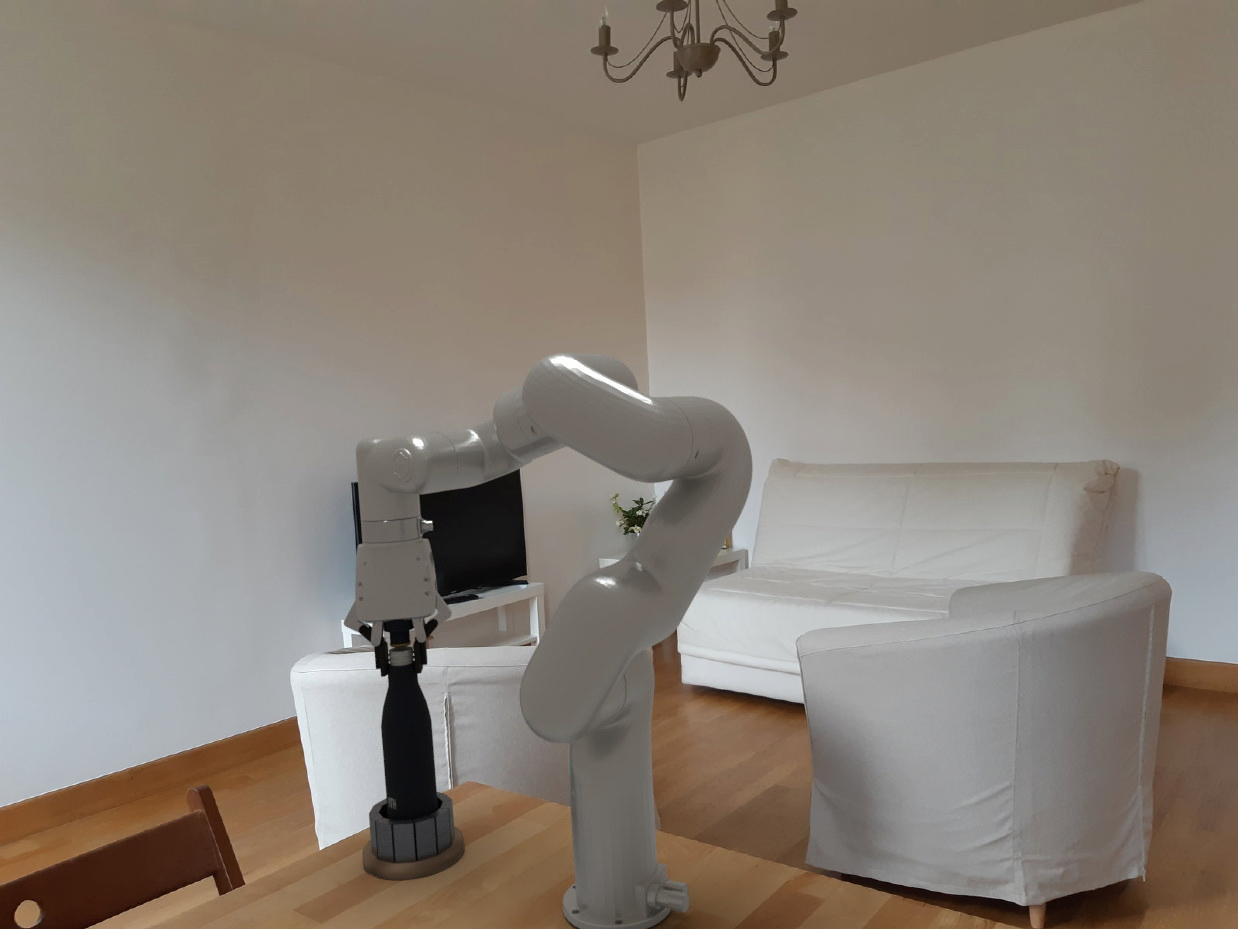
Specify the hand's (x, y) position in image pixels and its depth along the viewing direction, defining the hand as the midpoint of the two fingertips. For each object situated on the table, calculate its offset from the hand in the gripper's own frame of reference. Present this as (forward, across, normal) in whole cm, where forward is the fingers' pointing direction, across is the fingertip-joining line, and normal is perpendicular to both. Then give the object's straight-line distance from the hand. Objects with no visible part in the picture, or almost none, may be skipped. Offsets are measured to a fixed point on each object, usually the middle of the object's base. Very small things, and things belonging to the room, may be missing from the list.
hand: (402, 671), depth 121 cm
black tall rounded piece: (+21, 0, 0) cm, 21 cm away
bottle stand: (+25, 0, 0) cm, 25 cm away
